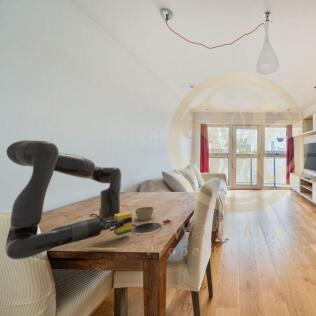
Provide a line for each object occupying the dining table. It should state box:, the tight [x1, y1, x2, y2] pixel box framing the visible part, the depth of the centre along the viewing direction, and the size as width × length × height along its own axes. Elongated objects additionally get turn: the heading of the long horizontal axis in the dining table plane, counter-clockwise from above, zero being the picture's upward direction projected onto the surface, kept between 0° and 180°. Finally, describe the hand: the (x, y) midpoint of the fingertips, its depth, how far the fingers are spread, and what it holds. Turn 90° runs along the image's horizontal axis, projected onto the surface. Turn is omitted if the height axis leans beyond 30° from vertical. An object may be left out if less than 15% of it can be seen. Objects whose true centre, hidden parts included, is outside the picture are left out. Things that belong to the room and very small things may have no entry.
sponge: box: [113, 210, 133, 237], centre depth 86 cm, size 4×6×9 cm
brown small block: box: [162, 218, 172, 224], centre depth 106 cm, size 3×3×2 cm
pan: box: [132, 222, 162, 234], centre depth 99 cm, size 21×14×2 cm
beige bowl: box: [135, 206, 154, 221], centre depth 112 cm, size 10×10×7 cm
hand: (129, 218), depth 88 cm, fingers closed on sponge, 4 cm apart
